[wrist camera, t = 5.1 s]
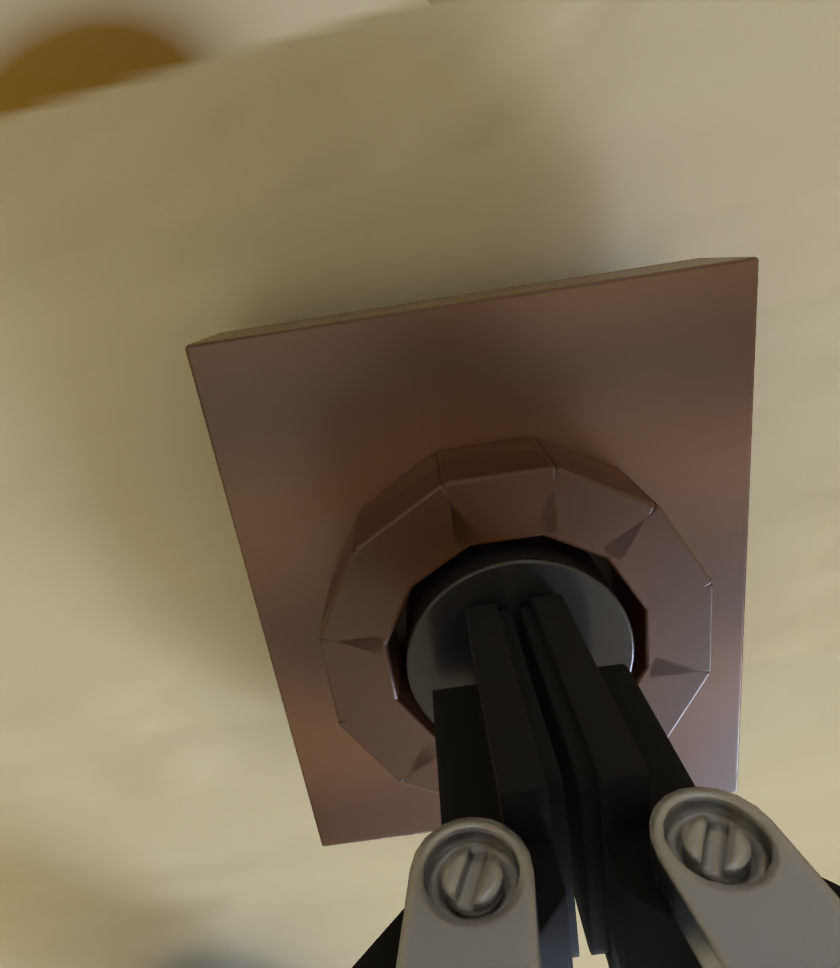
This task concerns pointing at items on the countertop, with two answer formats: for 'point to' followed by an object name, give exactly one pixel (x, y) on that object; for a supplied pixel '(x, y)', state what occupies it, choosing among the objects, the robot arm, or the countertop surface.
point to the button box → (489, 499)
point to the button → (506, 608)
